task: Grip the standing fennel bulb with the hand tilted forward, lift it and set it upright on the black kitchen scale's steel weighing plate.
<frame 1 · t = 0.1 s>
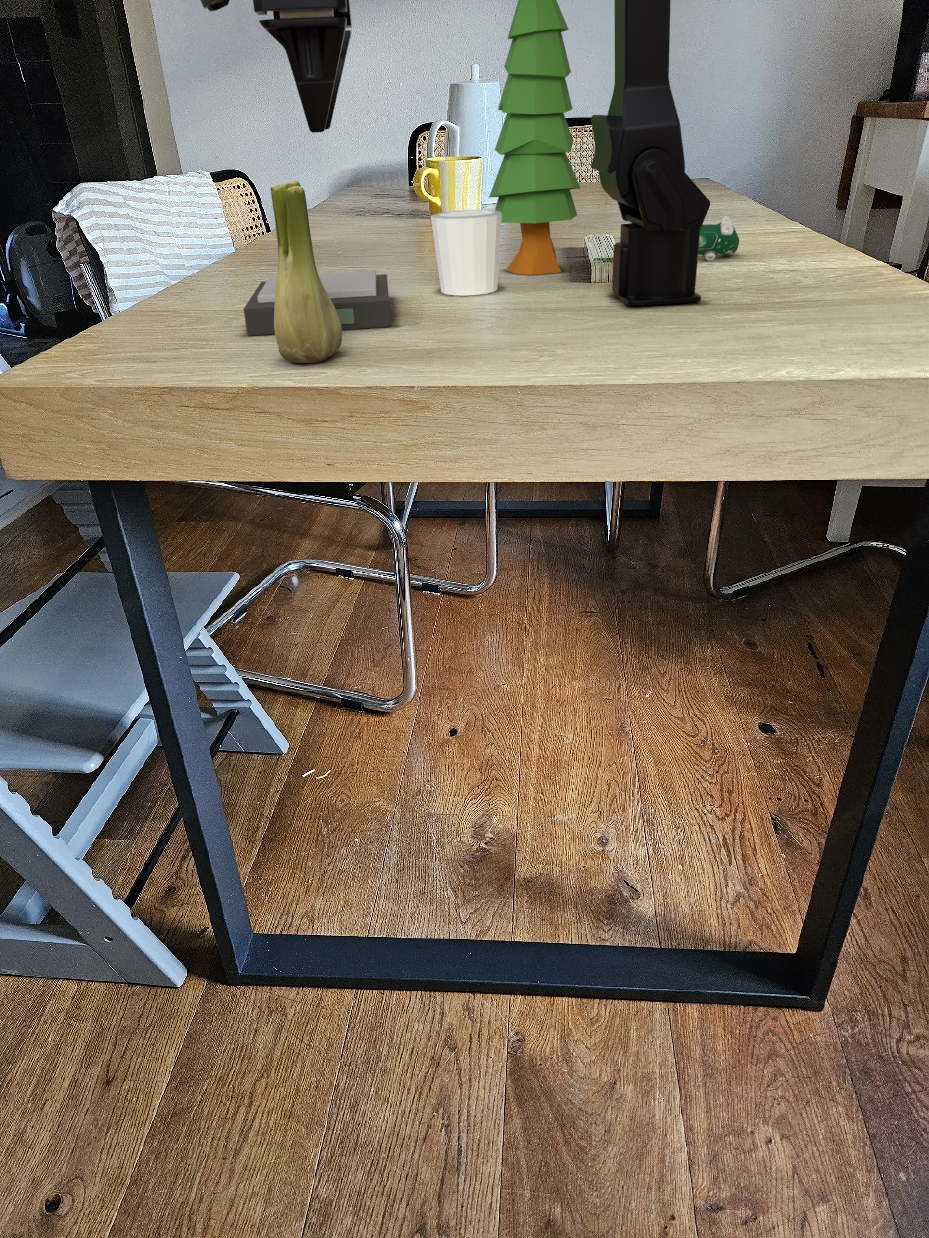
hand: (320, 130, 71), 15 cm above the table, tool pointing down, fingers open, 9 cm apart
green toy car: (695, 261, 98), on the table
fennel bulb: (312, 362, 66), on the table
white cup: (469, 292, 88), on the table
decorative tree: (533, 271, 97), on the table
kitchen scale: (323, 315, 80), on the table
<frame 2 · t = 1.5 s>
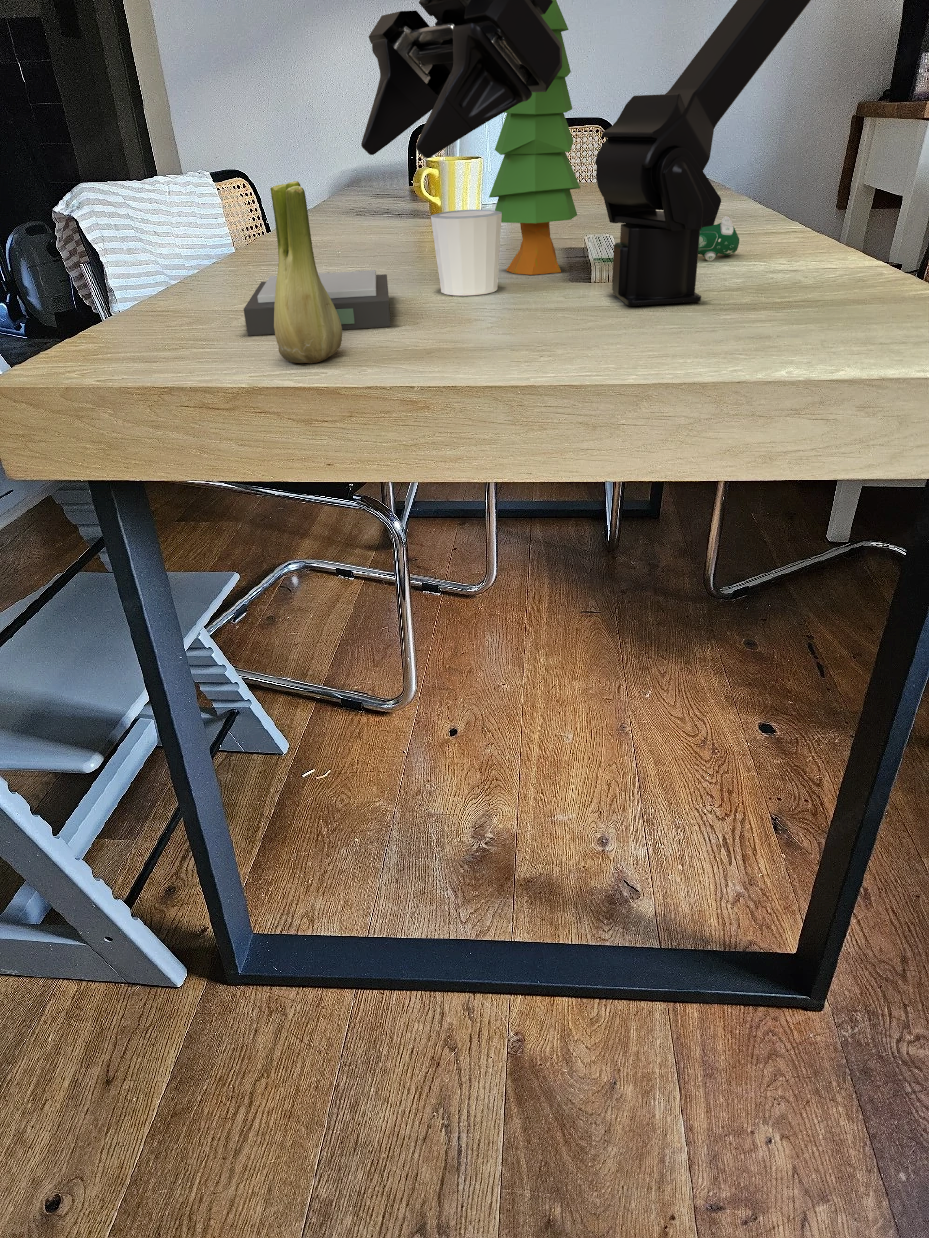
hand: (392, 152, 63), 13 cm above the table, tool tilted 45°, fingers open, 9 cm apart
nothing on the table moved.
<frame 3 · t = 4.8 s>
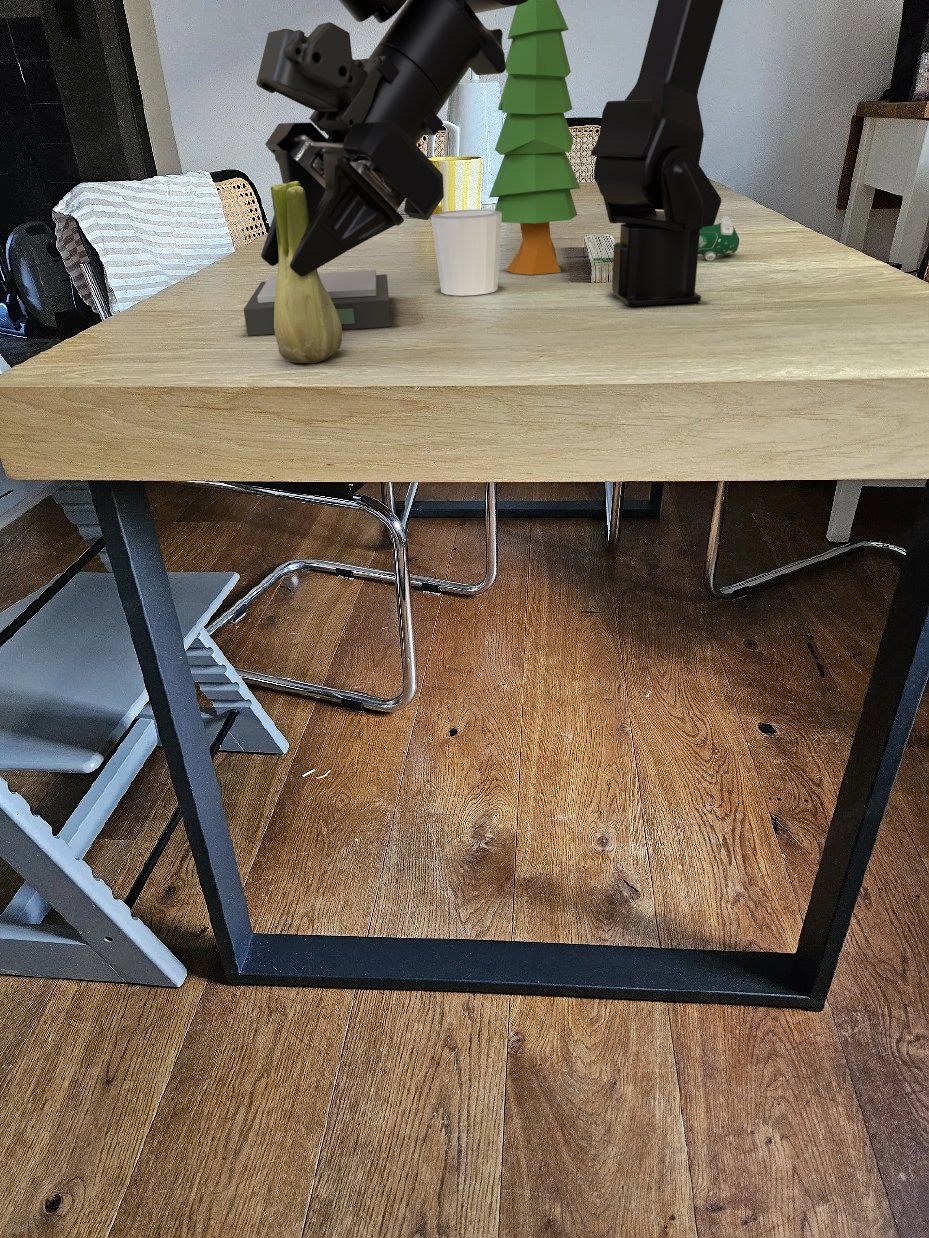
hand: (280, 266, 63), 7 cm above the table, tool tilted 45°, fingers closed on fennel bulb, 6 cm apart
fennel bulb: (312, 361, 66), on the table, touching gripper
everything else where it was.
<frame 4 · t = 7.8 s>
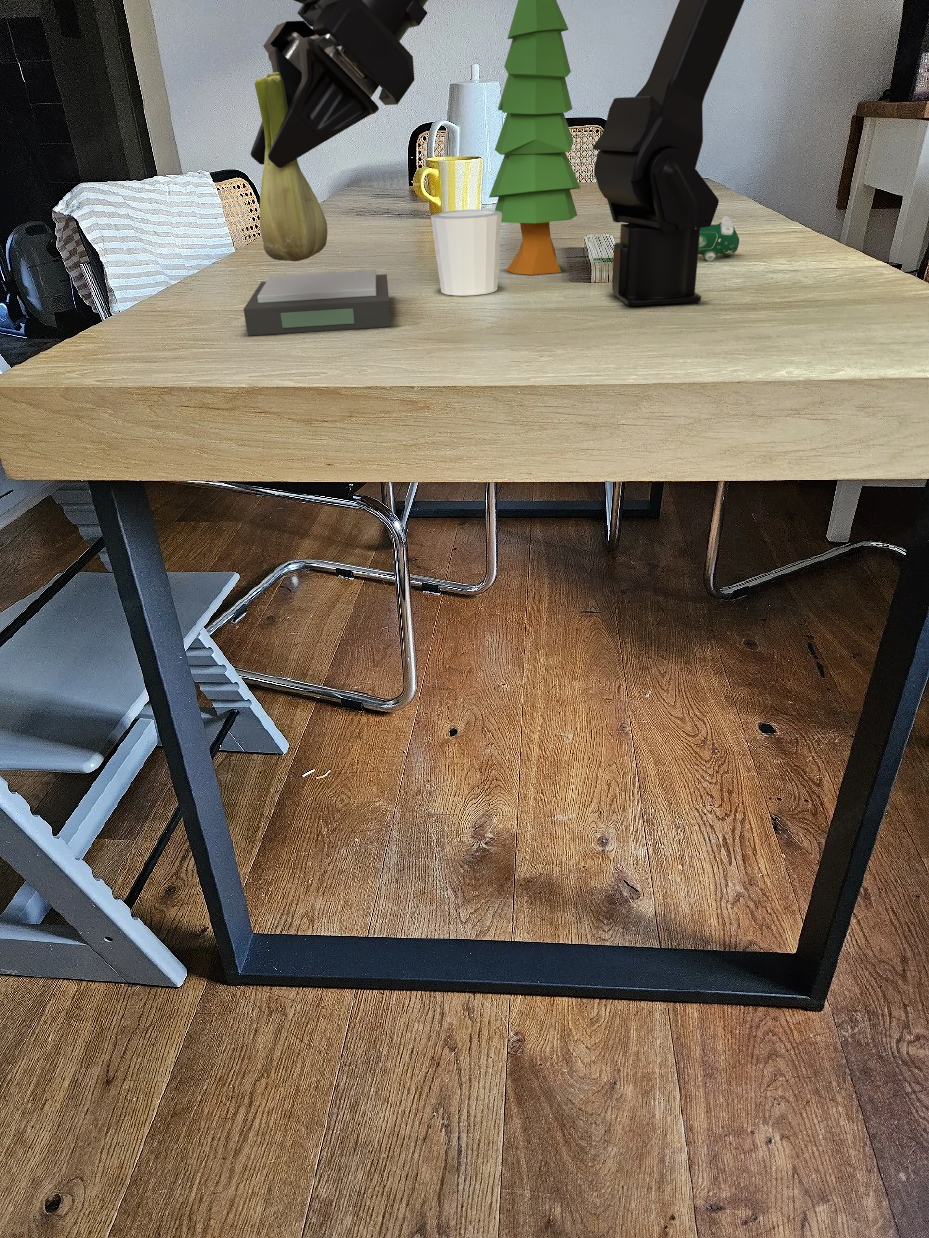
hand: (264, 161, 63), 13 cm above the table, tool tilted 45°, fingers closed on fennel bulb, 6 cm apart
fennel bulb: (299, 261, 67), point 6 cm above the table, touching gripper
everything else where it was.
when the fingers open (9 cm above the table, at t = 11.1 s): fennel bulb stays where it is, resting on kitchen scale.
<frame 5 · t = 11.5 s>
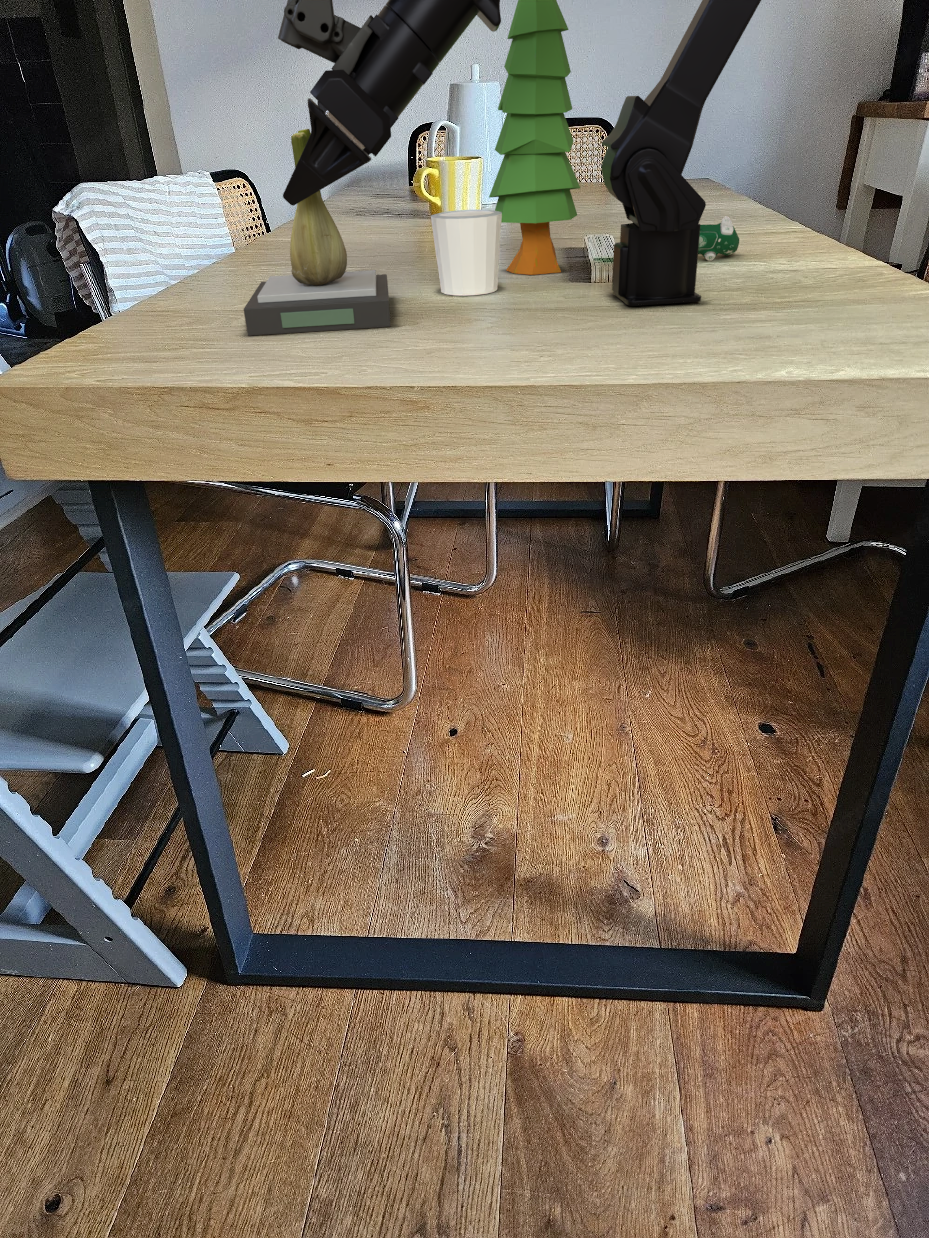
hand: (292, 196, 75), 10 cm above the table, tool tilted 45°, fingers open, 9 cm apart
fennel bulb: (322, 285, 79), point 3 cm above the table, touching kitchen scale
everything else where it was.
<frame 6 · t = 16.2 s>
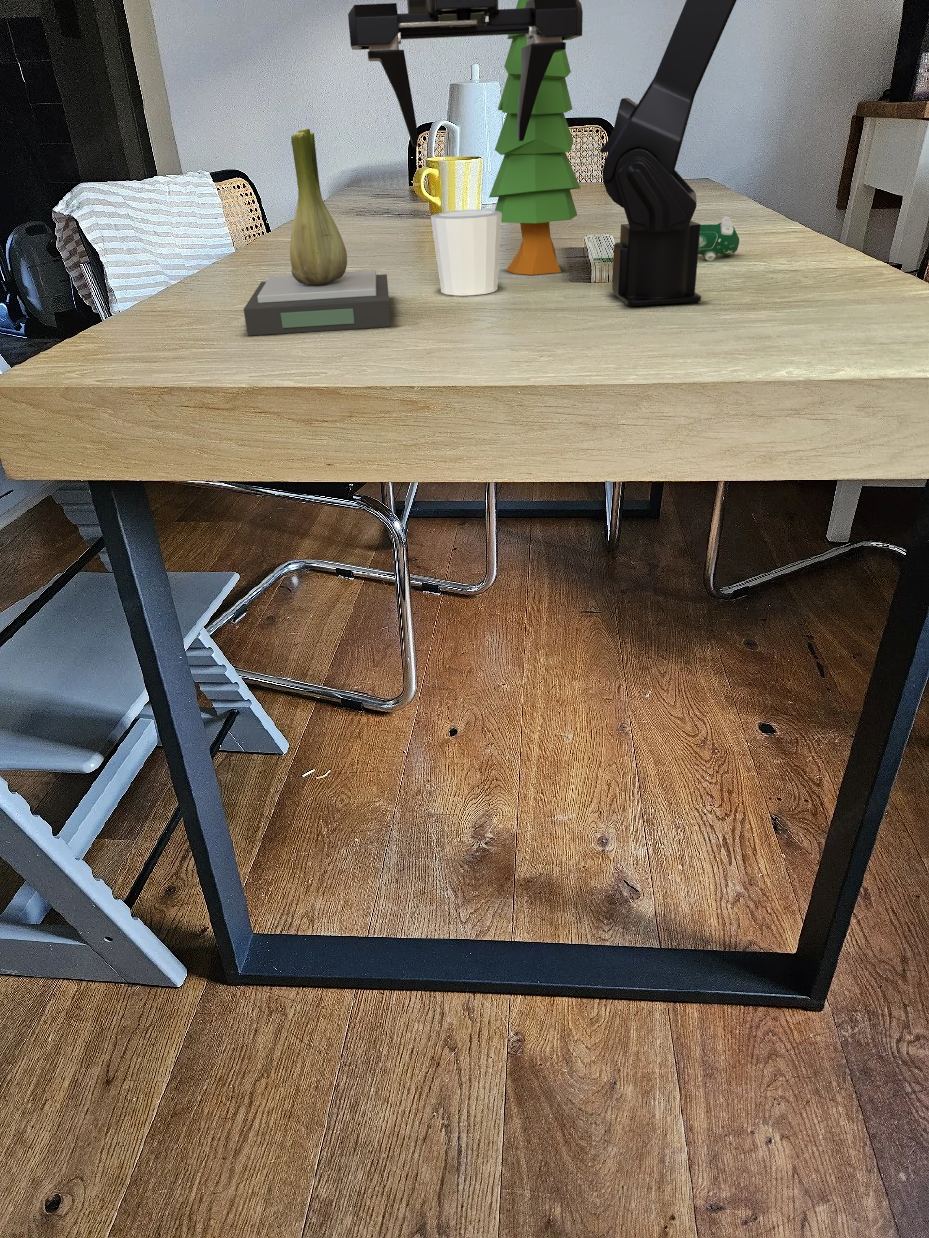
hand: (468, 143, 77), 13 cm above the table, tool pointing down, fingers open, 9 cm apart
nothing on the table moved.
at the end: fennel bulb inside the target area on the kitchen scale (0.8 cm from its centre), point 2.6 cm above the kitchen scale's base; fennel bulb tilted 0°; the gripper is holding nothing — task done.
